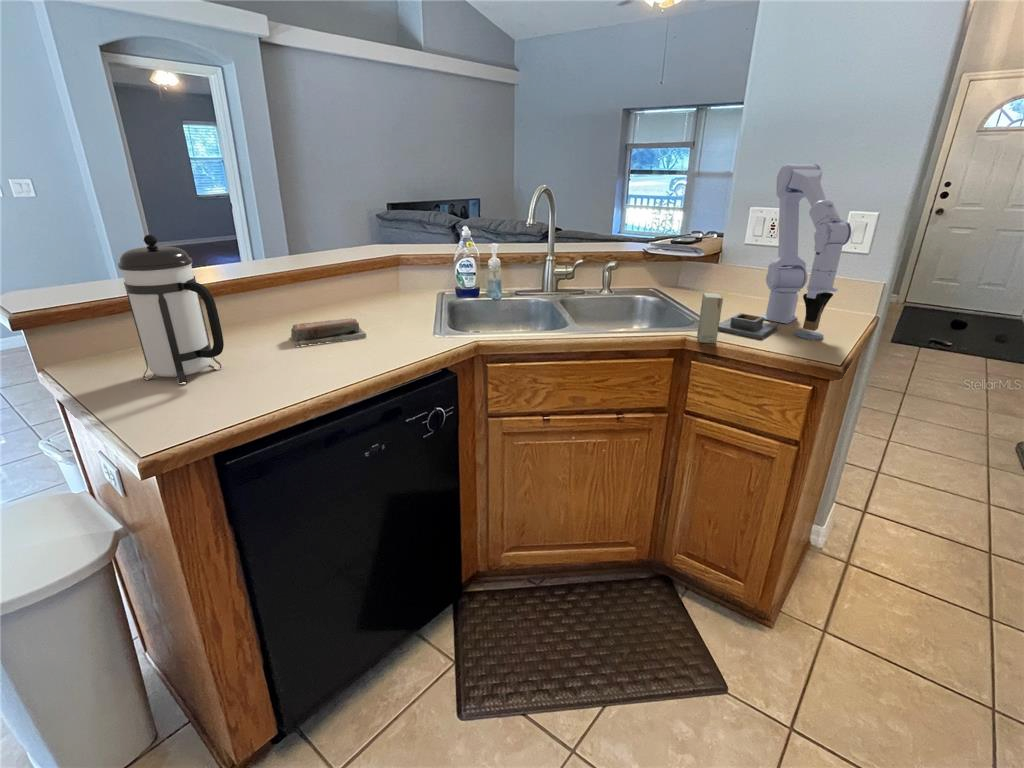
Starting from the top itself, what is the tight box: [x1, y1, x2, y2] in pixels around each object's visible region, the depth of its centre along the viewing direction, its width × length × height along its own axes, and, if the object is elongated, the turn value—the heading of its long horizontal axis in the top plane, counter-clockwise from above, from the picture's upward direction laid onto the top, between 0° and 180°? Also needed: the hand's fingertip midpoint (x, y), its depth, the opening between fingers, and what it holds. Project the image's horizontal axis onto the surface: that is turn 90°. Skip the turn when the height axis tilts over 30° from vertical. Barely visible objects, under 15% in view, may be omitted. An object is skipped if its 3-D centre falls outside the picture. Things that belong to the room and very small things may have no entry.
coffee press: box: [117, 234, 225, 384], centre depth 111 cm, size 17×16×30 cm
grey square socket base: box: [718, 312, 779, 341], centre depth 151 cm, size 13×13×4 cm
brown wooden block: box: [802, 304, 824, 332], centre depth 144 cm, size 3×3×7 cm
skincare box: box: [696, 292, 724, 344], centre depth 140 cm, size 6×4×12 cm
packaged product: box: [290, 318, 367, 347], centre depth 141 cm, size 18×5×10 cm
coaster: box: [794, 329, 824, 341], centre depth 146 cm, size 7×7×1 cm
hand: (812, 319), depth 144 cm, fingers closed on brown wooden block, 3 cm apart
